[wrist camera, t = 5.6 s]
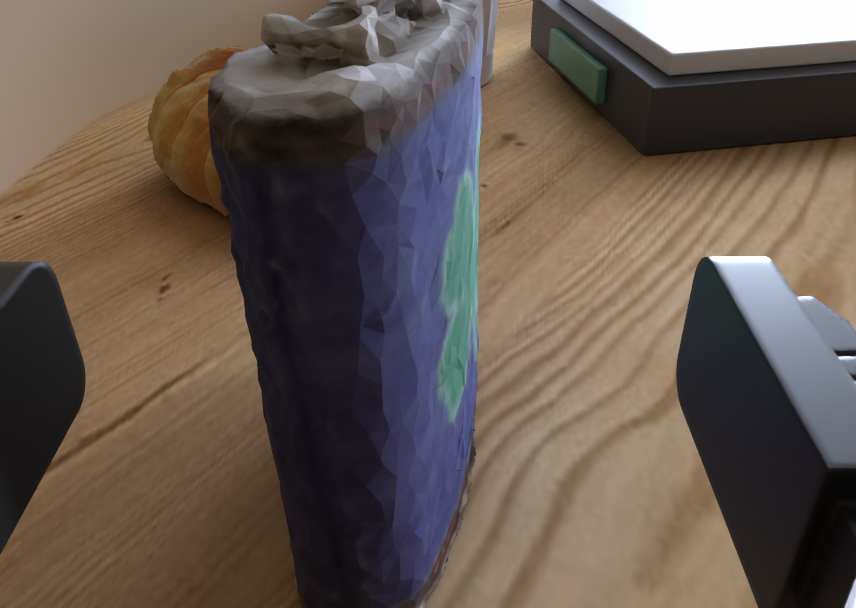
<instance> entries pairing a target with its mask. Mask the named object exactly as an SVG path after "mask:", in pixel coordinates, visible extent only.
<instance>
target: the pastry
mask: <svg viewBox="0 0 856 608" xmlns="http://www.w3.org/2000/svg"><path fill="white" fill-rule="evenodd" d="M246 50H249V49H247V48H242V47H238V46H232V47H227V48H216V49H212V50H209V51H207V52H205V53H203V54H202V55H200V56H199V57H197V58H196V59H194V60H193V61H192V62H191V63H190V65H189V66H188V67H186V68H184V69H177V70H174V71H173V72H172V73H171V75H170V77H169V79H168V82H167V83H166V84H164V85H163V87H162V88H161V90H160V91H159V93H158V94H157V96H156V97H155V101H154V104H153V109H152V112H151V114H150V117H149V122H148V131H149V135H150V138H151V140H152V143H153V153H154V158H155V160H156V162H157V163H158V165H159V166H160V168H161V169H162V170H163V172H164V173H165V175H166V176H167V178H168V179H169V178H170V179H171V180H172V181H173V182H174V183H175V184H176V185H177V187H178V188H179V190H180V191H182V192H183V193H185V194H187V195H189V196H191V197H193V198H195V199H197V200H198V201H199V202H200V203H203V202H204V203H207V204H208V205H210V206H211V207H213V208H214V209H216V210H218V211H219V212H221V213H222V214H223V215H224V216H225V217H226V215H229V214H228V212H227V210H226V208H225V207H224V205H223V203H222V202H221V200H220V191H221V182H220V179H219V176H218V173H217V170H216V167H215V164H214V160H213V156H212V153H211V142H210V129H209V119H208V88H209V84H210V80H211V78H212V77H213V76H215V75H216V74H218V73H219V72H221V71H222V69H223V67H224V65H225V63H226V61H227V59H229V58H230V57H231V56H232V55H233V54H234V53H235V52H242V51H246Z"/></svg>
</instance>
